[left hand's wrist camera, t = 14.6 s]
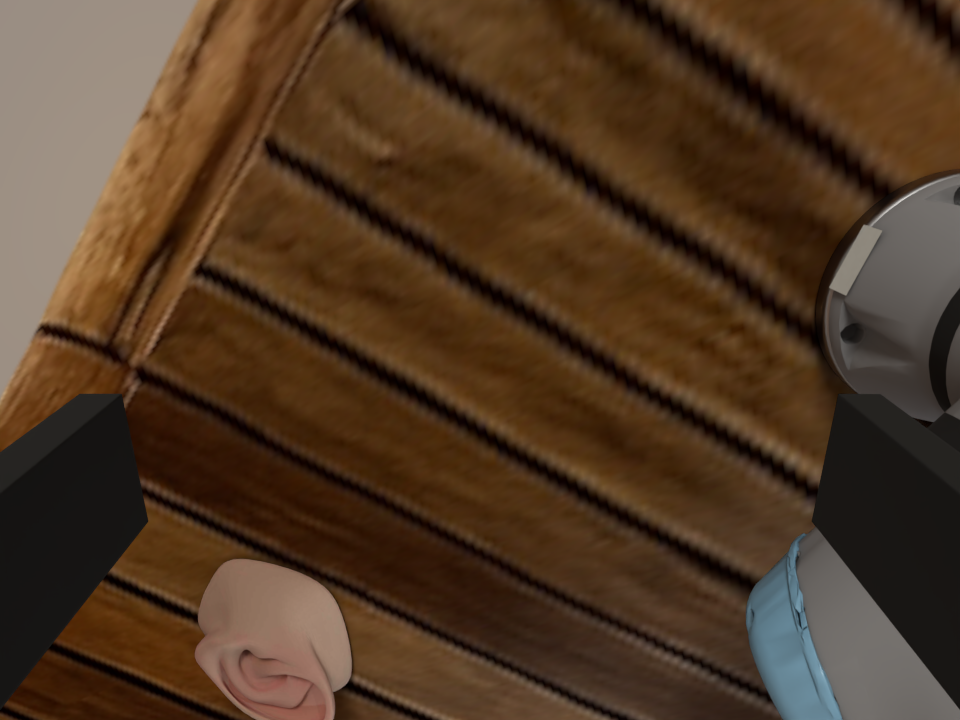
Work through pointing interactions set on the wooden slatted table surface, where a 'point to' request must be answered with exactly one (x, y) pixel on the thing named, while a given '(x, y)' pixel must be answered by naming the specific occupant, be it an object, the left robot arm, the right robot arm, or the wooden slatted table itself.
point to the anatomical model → (273, 641)
